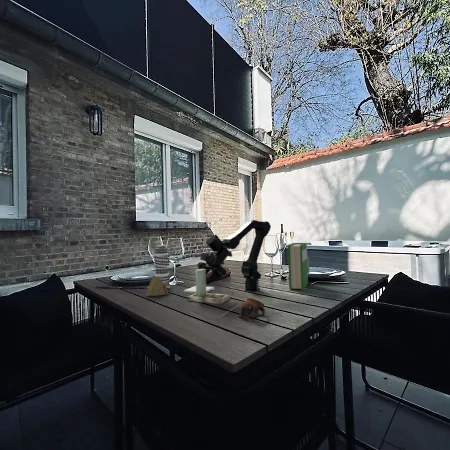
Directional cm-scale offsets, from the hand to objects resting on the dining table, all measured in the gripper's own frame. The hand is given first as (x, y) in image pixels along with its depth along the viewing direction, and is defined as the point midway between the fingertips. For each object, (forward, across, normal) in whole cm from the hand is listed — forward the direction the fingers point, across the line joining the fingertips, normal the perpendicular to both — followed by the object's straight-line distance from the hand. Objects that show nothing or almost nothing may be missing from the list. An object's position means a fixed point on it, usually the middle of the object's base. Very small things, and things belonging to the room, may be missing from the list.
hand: (201, 282), depth 139 cm
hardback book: (-34, +13, +45) cm, 58 cm away
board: (0, -17, +12) cm, 21 cm away
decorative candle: (+7, -41, +5) cm, 42 cm away
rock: (+14, -26, -2) cm, 30 cm away
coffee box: (-49, 0, +60) cm, 78 cm away
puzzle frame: (+5, +4, +7) cm, 9 cm away
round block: (+6, 0, +5) cm, 8 cm away
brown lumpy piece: (+6, +36, +7) cm, 37 cm away
